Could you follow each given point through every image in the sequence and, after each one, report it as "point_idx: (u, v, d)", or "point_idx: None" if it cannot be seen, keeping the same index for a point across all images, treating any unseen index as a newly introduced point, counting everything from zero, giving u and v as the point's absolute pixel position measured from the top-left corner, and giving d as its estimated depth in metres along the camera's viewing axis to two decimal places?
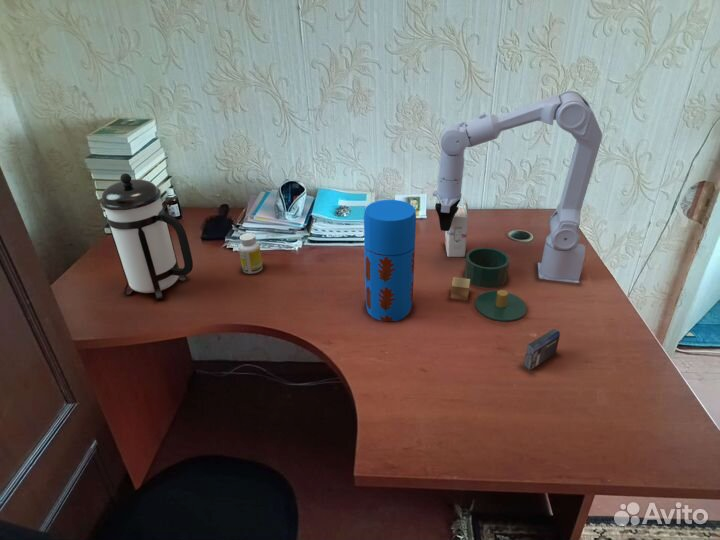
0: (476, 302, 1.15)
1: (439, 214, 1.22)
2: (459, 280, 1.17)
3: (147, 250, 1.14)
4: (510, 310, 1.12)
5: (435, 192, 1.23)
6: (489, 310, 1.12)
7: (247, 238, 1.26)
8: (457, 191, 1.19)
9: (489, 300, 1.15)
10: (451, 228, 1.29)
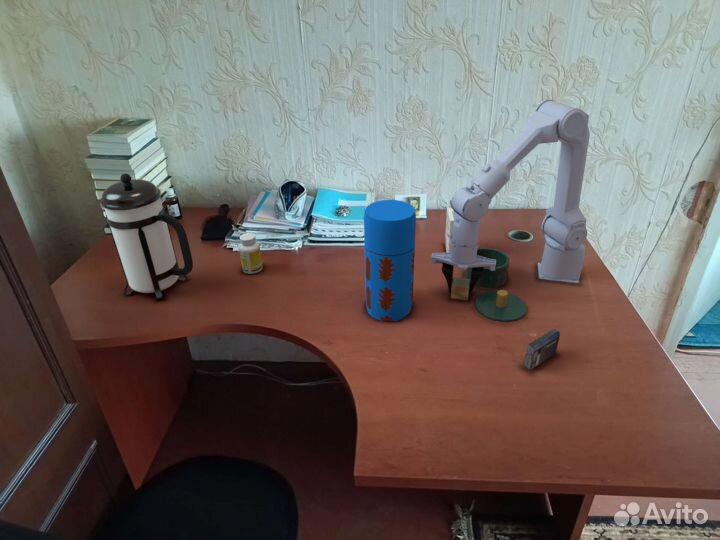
0: (476, 302, 1.15)
1: None
2: (459, 280, 1.17)
3: (147, 250, 1.14)
4: (510, 310, 1.12)
5: (462, 265, 1.10)
6: (489, 310, 1.12)
7: (247, 238, 1.26)
8: None
9: (489, 300, 1.15)
10: (451, 231, 1.29)
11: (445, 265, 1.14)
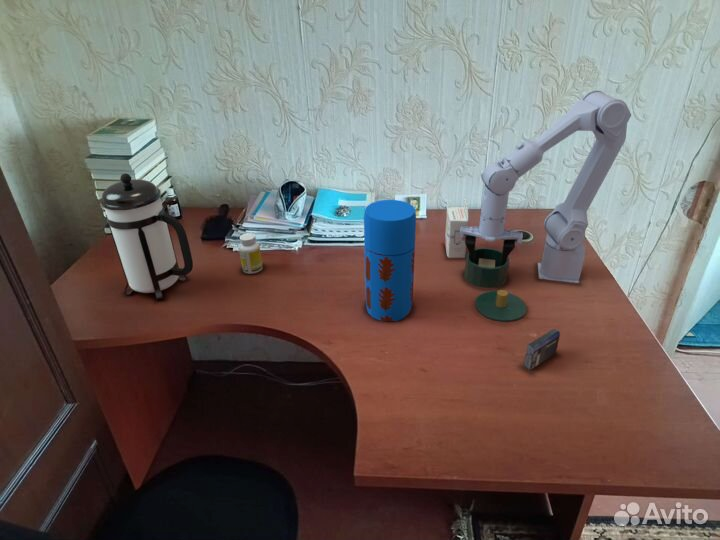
0: (476, 302, 1.15)
1: None
2: (484, 261, 1.24)
3: (147, 250, 1.14)
4: (510, 310, 1.12)
5: (491, 237, 1.16)
6: (489, 310, 1.12)
7: (247, 238, 1.26)
8: None
9: (489, 300, 1.15)
10: (451, 231, 1.29)
11: (468, 238, 1.20)
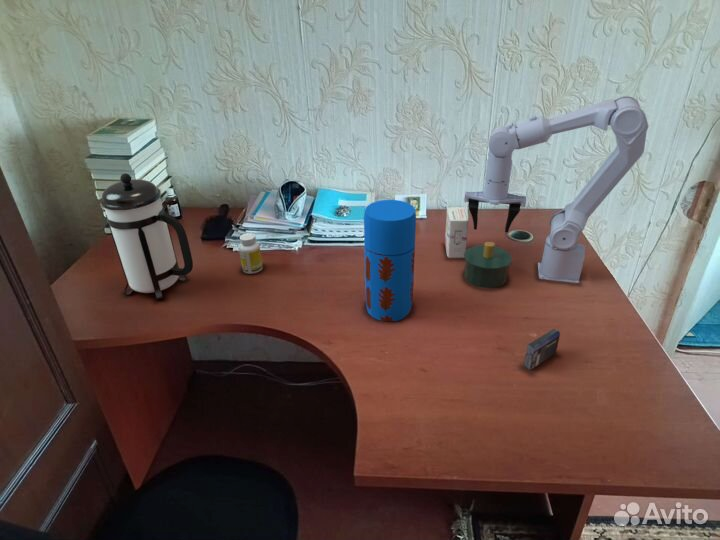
0: (465, 254, 1.23)
1: None
2: None
3: (147, 250, 1.14)
4: (496, 260, 1.20)
5: (495, 201, 1.18)
6: (477, 260, 1.20)
7: (247, 238, 1.26)
8: None
9: (477, 252, 1.23)
10: (451, 231, 1.29)
11: (471, 202, 1.22)
